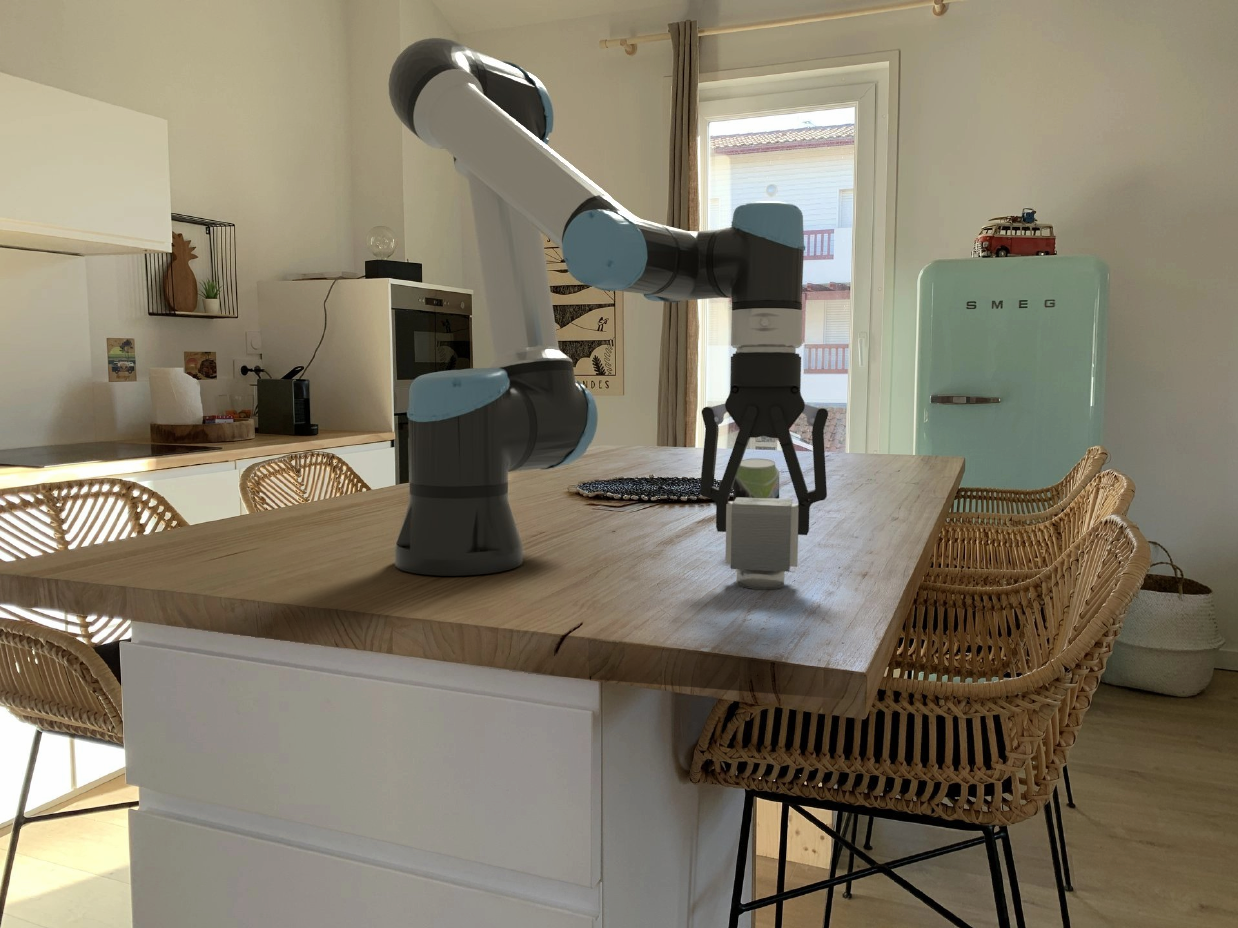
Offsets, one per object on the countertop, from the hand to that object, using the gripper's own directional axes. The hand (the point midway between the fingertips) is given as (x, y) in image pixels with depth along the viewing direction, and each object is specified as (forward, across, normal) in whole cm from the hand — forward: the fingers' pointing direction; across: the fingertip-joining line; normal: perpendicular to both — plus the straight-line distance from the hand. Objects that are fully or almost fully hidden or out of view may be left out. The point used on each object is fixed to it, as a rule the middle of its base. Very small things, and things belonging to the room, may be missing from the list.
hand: (761, 562), depth 102 cm
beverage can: (+3, -2, +22) cm, 22 cm away
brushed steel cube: (0, 0, 0) cm, 0 cm away
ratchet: (+2, 0, +6) cm, 7 cm away
